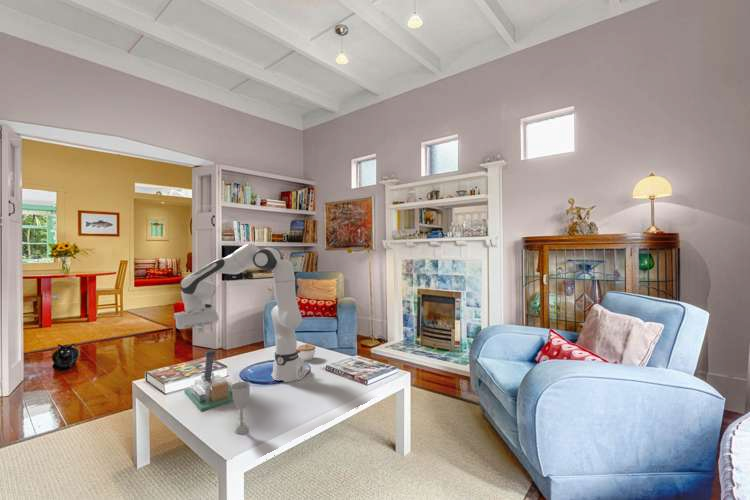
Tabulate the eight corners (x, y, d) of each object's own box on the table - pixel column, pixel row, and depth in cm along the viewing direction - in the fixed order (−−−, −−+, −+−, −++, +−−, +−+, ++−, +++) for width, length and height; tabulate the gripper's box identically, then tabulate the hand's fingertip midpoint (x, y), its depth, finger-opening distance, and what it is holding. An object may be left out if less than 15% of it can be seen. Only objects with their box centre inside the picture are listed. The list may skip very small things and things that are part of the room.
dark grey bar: (203, 379, 173) (202, 377, 174) (212, 377, 176) (210, 375, 177) (206, 352, 169) (205, 350, 170) (215, 350, 171) (214, 348, 172)
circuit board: (184, 392, 173) (184, 389, 173) (222, 382, 185) (222, 380, 185) (200, 411, 154) (200, 408, 154) (241, 398, 166) (241, 396, 166)
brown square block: (210, 401, 161) (210, 385, 161) (226, 396, 166) (226, 381, 165) (212, 402, 159) (211, 386, 159) (228, 398, 164) (227, 382, 164)
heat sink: (190, 392, 170) (189, 377, 170) (223, 383, 181) (222, 369, 180) (200, 403, 158) (200, 387, 158) (234, 393, 169) (234, 378, 169)
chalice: (234, 437, 133) (234, 390, 133) (229, 430, 139) (228, 384, 138) (254, 430, 138) (253, 385, 138) (247, 423, 143) (247, 380, 143)
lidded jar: (310, 355, 229) (309, 340, 229) (318, 359, 221) (318, 344, 220) (294, 358, 222) (294, 343, 222) (303, 363, 214) (303, 347, 213)
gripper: (173, 309, 179) (179, 332, 173) (215, 304, 193) (222, 325, 186) (171, 316, 183) (177, 339, 176) (213, 311, 197) (219, 332, 190)
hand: (200, 332), depth 181 cm, fingers closed
